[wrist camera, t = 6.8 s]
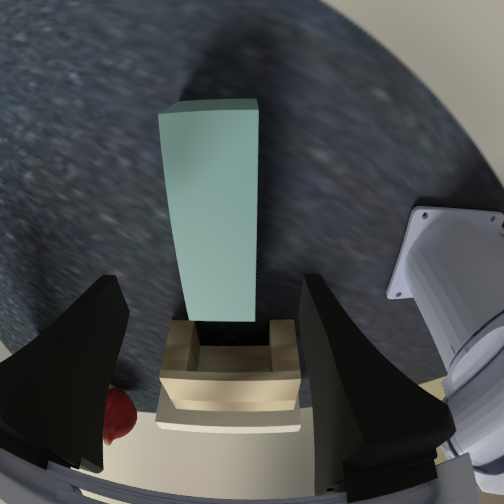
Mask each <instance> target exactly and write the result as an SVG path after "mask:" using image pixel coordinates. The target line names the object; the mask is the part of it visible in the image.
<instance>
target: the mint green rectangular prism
mask: <svg viewBox="0 0 504 504" xmlns="http://www.w3.org/2000/svg"><path fill="white" fill-rule="evenodd" d="M158 117H159V129H160V139H161V149H162V158H163V167H164V175H165V183H166V191H167V198H168V205H169V212H170V219H171V225H172V232H173V238H174V244H175V250H176V256H177V261H178V267H179V272H180V278H181V283H182V288H183V293H184V298H185V303H186V308H187V313H188V317H189V320H192V321H243V322H255V291H256V241H257V185H258V122H259V109H258V103H257V99H210V100H192V101H179V102H177V103H175V104H174V105H172V106H170V107H169V108H167V109H166V110H164V111H163V112H161V113H159V114H158Z"/></svg>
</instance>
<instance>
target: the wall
mask: <svg viewBox="0 0 504 504" xmlns="http://www.w3.org/2000/svg"><path fill="white" fill-rule="evenodd" d="M155 422H156V423H157V424H158V426H159V427H160V428H162V429H172V430H182V431H195V432H212V433H277V432H295V431H299V429H300V427H301V418H300V408H299V398H298V395H297V399H296V403H295V407H294V410H282V411H203V410H187V409H176V407H175V406H174V404H173V402H172V400H171V399H170V397H169V395H168V393H167V392H166V390H165V388H164V386H163V384H162V386H161V391H160V397H159V402H158V408H157V414H156V420H155Z"/></svg>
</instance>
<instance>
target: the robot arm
mask: <svg viewBox="0 0 504 504" xmlns="http://www.w3.org/2000/svg"><path fill="white" fill-rule="evenodd" d="M425 212H426V214H425V215H424V216H422V215H423V214H424V213H425ZM503 221H504V215H503V214H502V213H501V212H495V211H484V210H472V209H458V208H443V207H426V206H417V207H415V208H414V209H413V210H412V211H411V214H410V218H409V222H408V226H407V229H406V233H405V236H404V240H403V243H402V246H401V250H400V253H399V256H398V259H397V262H396V266H395V269H394V272H393V275H392V278H391V280H390V283H389V286H388V289H387V292H386V295H387V297H388V298H389V299H400V298H411V297H414V299H415V301H416V303H417V305H418V307H419V309H420V311H421V314H422V316H423V318H424V320H425V322H426V324H427V326H428V328H429V330H430V333H431V335H432V337H433V339H434V341H435V344H436V346H437V348H438V351H439V353H440V355H441V358H442V360H443V362H444V365H445V367H446V370H447V372H448V375H447V377H446V378H445V379H444V380H443V381H442V383H441V384H442V387H443V390H444V393H445V395H446V396H445V397H444V399H443V400H442V401H441V400H439V399H438V398H436V397H434V396H433V395H431V394H430V393H428V392H427V391H425V390H424V389H422V388H421V387H420V386H418V385H417V384H416V383H414V382H413V381H412V380H410V379H409V378H408V377H407V376H406V375H404V374H403V373H402V372H401V371H400V370H399V369H397V368H396V367H395V366H394V365H393V364H392V363H391V362H390V361H389V360H387V359H386V358H385V357H384V356H383V355H382V354H381V353H380V352H379V351H378V350H377V349H376V347H375V346H374V345H373V344H372V343H371V342H370V341H369V340H368V339H367V338H366V336H365V335H364V334H363V333H362V332H361V331H360V329H359V328H358V327H357V326H356V325H355V323H354V322H353V321H352V319H351V318H350V317H349V315H348V314H347V313H346V311H345V310H344V309H343V307H342V306H341V305H340V303H339V302H338V300H337V299H336V297H335V296H334V294H333V293H332V291H331V290H330V288H329V287H328V285H327V284H326V282H325V281H324V279H323V277H322V276H321V275H320V274H303V279H302V288H301V296H300V304H299V311H298V314H299V326H300V337H301V342H302V347H303V352H304V357H305V362H306V367H307V372H308V377H309V382H310V388H311V395H312V407H313V422H314V444H315V496H311V497H301V498H288V499H267V500H236V499H234V500H233V499H214V498H202V497H192V496H183V495H175V494H168V493H163V492H156V491H151V490H146V489H141V488H136V487H131V486H127V485H123V484H119V483H115V482H111V481H107V480H104V479H100V478H97V477H93V476H90V475H87V474H84V473H81V472H78V471H75V470H72V469H70V468H71V467H72V468H76V469H79V468H81V469H83V470H87V471H90V472H93V473H100V472H102V471H103V469H104V468H103V427H104V416H105V407H106V400H107V394H108V388H109V384H110V380H111V376H112V373H113V370H114V367H115V364H116V360H117V357H118V354H119V351H120V348H121V345H122V342H123V339H124V336H125V332H126V328H127V323H128V318H129V312H130V311H129V308H128V306H127V304H126V301H125V299H124V296H123V294H122V291H121V289H120V286H119V283H118V281H117V278H116V275H102V276H101V277H100V278H99V279H98V280H97V281H95V282H94V283H93V284H92V285H91V286H90V287H89V288H88V289H87V290H86V291H85V292H84V293H83V294H82V295H81V296H80V297H79V298H78V299H77V300H76V301H75V302H74V303H73V304H72V305H71V306H70V307H69V308H68V309H67V310H66V311H65V312H64V313H63V314H62V315H61V316H60V317H59V318H57V319H56V320H55V321H54V322H53V323H52V324H51V325H50V326H49V327H48V328H47V329H46V330H44V331H43V332H42V333H41V334H40V335H39V336H37V337H36V338H35V339H34V340H32V341H31V342H30V343H28V344H27V345H26V346H24V347H23V348H22V349H20V350H19V351H17V352H16V353H15V354H13V355H12V356H10V357H8V358H7V359H6V360H4V361H2V362H0V499H2V500H3V501H4V502H5V503H7V504H108V503H104V502H101V501H98V500H95V499H92V498H89V497H86V496H84V495H83V494H82V492H81V490H80V489H83V490H86V491H89V492H92V493H95V494H98V495H102V496H105V497H108V498H112V499H115V500H119V501H123V502H127V503H131V504H480V499H479V493H478V488H477V484H478V485H479V487H480V488H481V490H482V491H484V492H488V493H494V494H502V495H504V228H503V227H502V223H503ZM398 292H399V293H398ZM440 445H441V448H442V450H443V452H444V454H445V455H446V457H447V458H448V461H445V462H443V463H440V464H438V465H436V466H435V462H434V459H436V458H437V451H436V448H437V447H438V446H440ZM476 482H477V483H476ZM79 488H80V489H79Z"/></svg>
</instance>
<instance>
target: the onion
mask: <svg viewBox="0 0 504 504" xmlns="http://www.w3.org/2000/svg"><path fill="white" fill-rule="evenodd" d="M136 420H137V411H136V408H135V406H134V403H133V401H132V400H131V398H130V397H129V396H128V395H127V394H126V392H125V391H124V390H123V389H122V388H120V387H116V388H110V389H108V394H107V400H106V407H105V416H104V427H103V439H104V442H105V444H106V445H108V446H109V445H110V444H111V443H112V441H113V440H114V439H117V438H120V437H123V436H125V435H126V434H128V433H129V432H130V431H131V430H132V429H133V427H134V425H135V424H136Z"/></svg>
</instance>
